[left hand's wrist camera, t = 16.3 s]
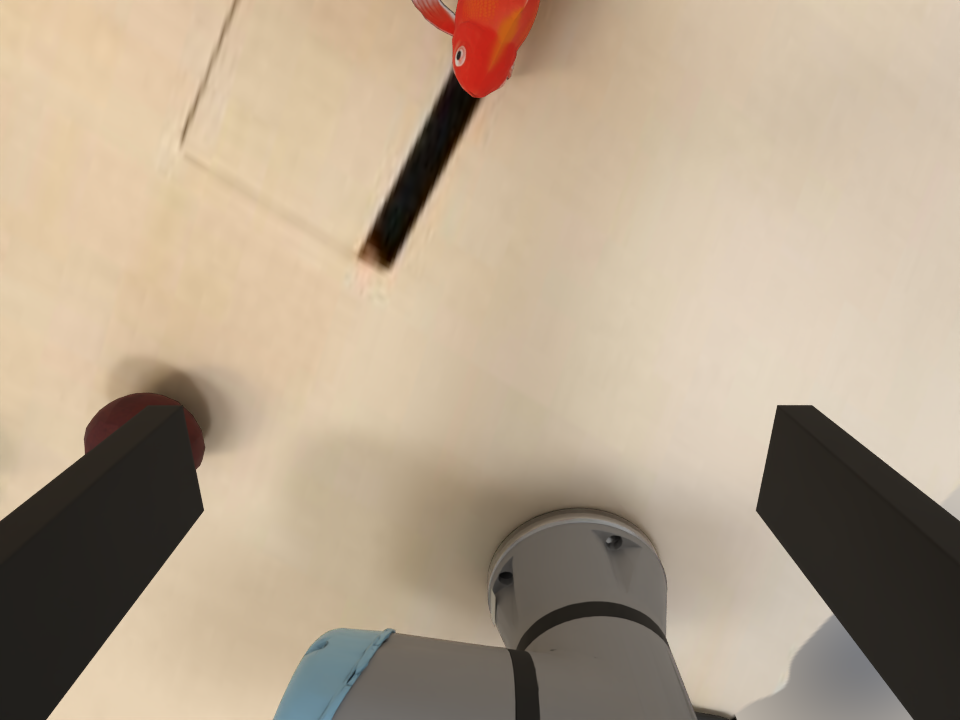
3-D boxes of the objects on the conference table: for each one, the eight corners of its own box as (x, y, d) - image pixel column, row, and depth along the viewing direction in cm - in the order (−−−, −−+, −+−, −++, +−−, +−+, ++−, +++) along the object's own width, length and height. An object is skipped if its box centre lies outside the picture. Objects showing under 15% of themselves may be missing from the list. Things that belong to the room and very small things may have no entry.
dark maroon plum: (142, 360, 43) (81, 399, 36) (236, 411, 45) (194, 458, 38) (107, 432, 45) (43, 482, 39) (198, 479, 47) (151, 534, 40)
